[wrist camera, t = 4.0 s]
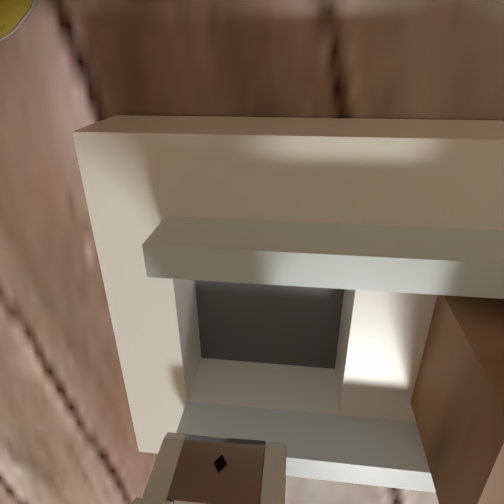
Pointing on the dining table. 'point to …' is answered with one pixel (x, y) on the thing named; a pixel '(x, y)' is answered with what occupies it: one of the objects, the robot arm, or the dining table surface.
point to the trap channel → (290, 274)
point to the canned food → (13, 15)
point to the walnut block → (463, 400)
